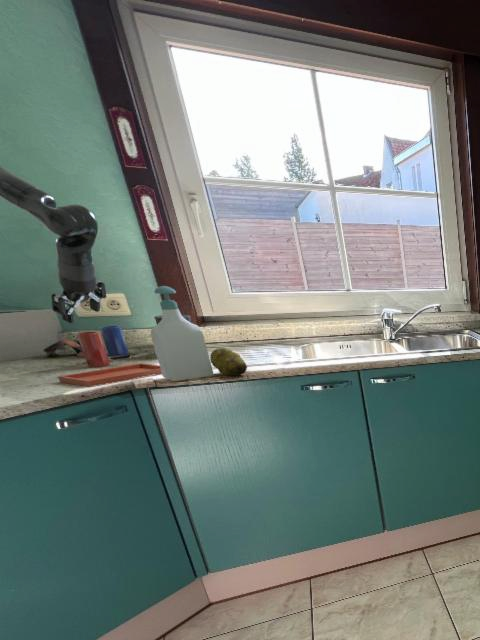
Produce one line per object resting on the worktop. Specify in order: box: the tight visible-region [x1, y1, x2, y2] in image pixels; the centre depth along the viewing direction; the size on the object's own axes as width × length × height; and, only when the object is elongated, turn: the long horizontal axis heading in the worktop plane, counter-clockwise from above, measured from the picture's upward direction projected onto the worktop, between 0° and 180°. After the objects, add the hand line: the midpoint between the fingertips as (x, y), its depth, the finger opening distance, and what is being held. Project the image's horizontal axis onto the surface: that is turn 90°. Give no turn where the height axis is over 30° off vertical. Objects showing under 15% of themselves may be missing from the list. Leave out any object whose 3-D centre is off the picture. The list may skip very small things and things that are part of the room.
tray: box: [57, 362, 162, 387], centre depth 152 cm, size 22×14×2 cm, turn 162°
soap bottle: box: [150, 285, 214, 382], centre depth 151 cm, size 11×8×27 cm
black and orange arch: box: [42, 337, 85, 358], centre depth 172 cm, size 12×10×8 cm
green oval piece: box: [209, 347, 248, 377], centre depth 159 cm, size 8×13×8 cm, turn 43°
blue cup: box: [99, 325, 131, 360], centre depth 175 cm, size 5×6×11 cm
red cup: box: [76, 331, 111, 369], centre depth 163 cm, size 5×6×11 cm
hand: (82, 315), depth 150 cm, fingers open, 8 cm apart
